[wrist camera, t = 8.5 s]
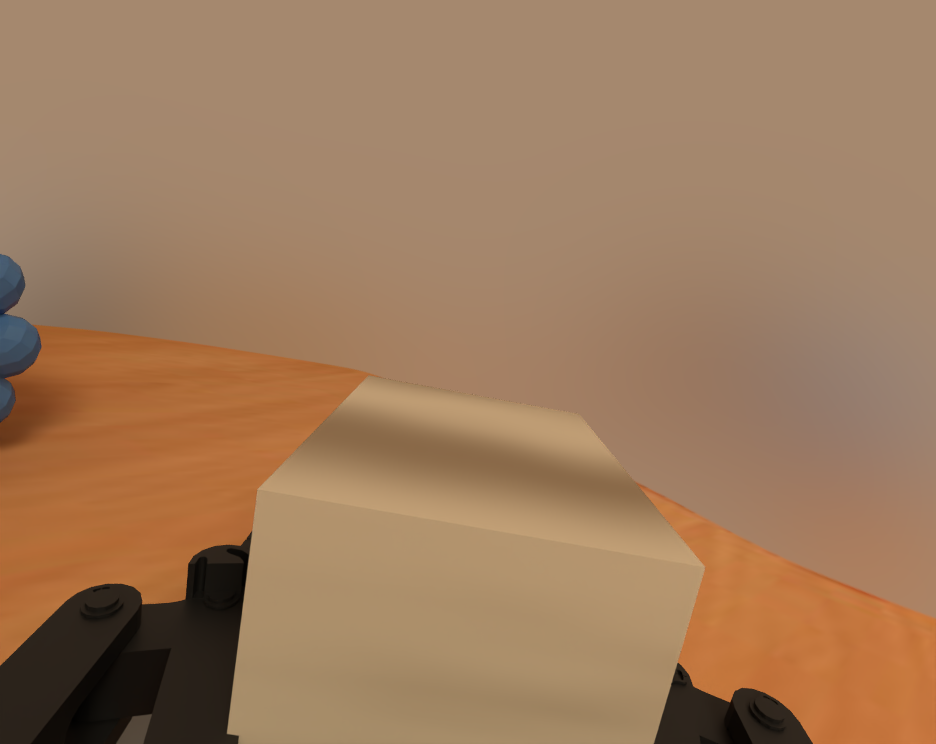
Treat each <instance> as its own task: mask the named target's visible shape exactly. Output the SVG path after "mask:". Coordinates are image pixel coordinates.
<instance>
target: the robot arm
mask: <svg viewBox="0 0 936 744" xmlns="http://www.w3.org/2000/svg"><path fill="white" fill-rule="evenodd" d="M251 538H252V532H251V533H250V535H249V536H248V537H247V540H245V541H244V542H243V544H242V545H241V546H236V545H221V546H214V547H211V548H208V549H205V550H202V551H201V552H199V553H198V554H196V555H195V556H193V558H192V559H191V561H190V562H189V564H188V576H187V589H186V600H182V601H178V602H171V603H161V604H143V605H142V598H141V593H140V592H139V591H138V590H136V589H135V588H134V587H131V586H128V585H124V584H104V585H99V586H94V587H91V588H88V589H86V590H83V591H81V592H79V593H77V594H75V595H74V596H73V597H71V598H70V599H68V600H67V601H66V602H65V603H64V604H63V605H62V606H61V607H60V608H59V609H58V610H57V611H56V612H55V613H54V614H53V615H51V616H50V617H49V618H48V619H47V620H46V621H45V622H44V623H43V624H42V625H41V626H40V627H39V628H38V629H37V630H36V631H35V632H34V633H33V634H32V635H31V636H30V637H29V638H28V639H27V640H26V641H25V642H24V643H23V644H22V645H21V646H20V647H19V648H18V649H17V650H16V651H15V652H14V653H13V654H12V655H11V656H10V657H9V658H8V659H7V660H6V661H5V662H4V663H3V664H2V665H1V666H0V744H116V743H117V741H118V740H119V738H120V737H121V735H122V734H123V732H124V730H125V729H126V727H127V726H128V724H129V722H130V721H131V719H132V717H133V716H141V715H149V714H152V716H151V719H150V722H149V726H148V729H147V733H146V736H145V739H144V743H143V744H238V740H239V736H238V735H232V734H227V729H228V721H229V713H230V705H231V697H232V689H233V681H234V673H235V665H236V657H237V650H238V642H239V634H240V626H241V618H242V610H243V602H244V594H245V586H246V578H247V570H248V562H249V554H250V546H251ZM654 744H813V743H812V741H811V740H810V738H809V737H808V735H807V733H806V732H805V730H804V729H803V727H802V725H801V724H800V722H799V721H798V720H797V718H796V717H795V716H794V715H793V713H792V712H791V711H790V710H789V709H788V708H786V707H785V706H784V705H783V704H782V703H780V702H779V701H778V700H776V699H775V698H773V697H771V696H769V695H767V694H766V693H763V692H760V691H757V690H754V689H748V688H741V689H739V690H736V691H735V692H734V694H733V697H732V700H731V702H727V701H725V700H722V699H720V698H717V697H715V696H713V695H710V694H708V693H705V692H703V691H701V690H699V689H697V688H695V687H693V685H692V682H691V679H690V676H689V674H688V673H687V672H686V671H685V669H684V668H683V667H682V666H681V665H680V664H679V663H677V666H676V669H675V673H674V676H673V680H672V683H671V687H670V690H669V693H668V697H667V700H666V704H665V707H664V710H663V714H662V717H661V721H660V724H659V728H658V731H657V734H656V738H655V741H654Z"/></svg>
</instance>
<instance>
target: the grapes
mask: <svg viewBox="0 0 936 744" xmlns="http://www.w3.org/2000/svg"><path fill="white" fill-rule="evenodd" d="M24 288H25V280H24V276H23V273H22V270H21V268H20V266H19V265H17V264H16V263H15V262H14V261H13V260H12V259H11V258H10V257H8V256H6V255H2V254H0V423H1V422H2V421H3V420H4V419H5V418H7V417H8V416H9V414H10V412H11V410H12V408H13V405H14V403H15V401H16V399H15V391H14V389H13V387H12V385H11V383H10V382H9V381H7V380H6V379H4V378H7V377H11V376H15V375H19V374H21V373H23V372H24V371H25V370H26V369H28V368H29V367H30V366H31V365H32V364H34V362H35V360H36V358H37V356H38V354H39V352H40V349H41V340H40V336H39V334H38V331H37V329H36V328H35V327H34V326H32V325H31V324H30V323H29V322H27V321H26V320H25V319H23V318H21V317H16V316H12V315H8V314H4V313H5V312H7V311H8V310H9V309H10V308H12V307H13V306H15V305H16V304H17V303H18V301H19V299H20V297H21V295H22V293H23V290H24Z"/></svg>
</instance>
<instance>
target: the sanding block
mask: <svg viewBox="0 0 936 744" xmlns="http://www.w3.org/2000/svg"><path fill="white" fill-rule="evenodd" d="M704 570H705V566H704V565H703V564H702V563H701V561H700V560H699V559H698V558H697V557H696V555H695V554H694V553H693V552H692V550H691V549H690V548H689V547H688V546H687V544H686V543H685V542H684V541H683V540H682V538H681V537H680V536H679V535H678V534H677V532H676V531H675V530H674V529H673V527H672V526H671V525H670V524H669V523H668V521H667V520H666V519H665V518H664V517H663V515H662V514H661V513H660V512H659V510H658V509H657V508H656V507H655V506H654V504H653V503H652V502H651V501H650V500H649V498H648V497H647V496H646V495H645V494H644V492H643V491H642V490H641V489H640V487H639V486H638V485H637V484H636V483H635V481H634V480H633V479H632V478H631V477H630V475H629V474H628V473H627V472H626V470H625V469H624V468H623V467H622V466H621V464H620V463H619V462H618V461H617V460H616V458H615V457H614V456H613V455H612V454H611V452H610V451H609V450H608V449H607V447H606V446H605V445H604V444H603V443H602V441H601V440H600V439H599V438H598V437H597V435H596V434H595V433H594V432H593V431H592V429H591V428H590V427H589V426H588V424H587V423H586V422H585V421H584V420H583V418H582V417H581V416H580V415H579V414H576V413H570V412H565V411H559V410H554V409H549V408H543V407H537V406H532V405H527V404H521V403H515V402H510V401H505V400H499V399H494V398H489V397H482V396H478V395H472V394H466V393H461V392H455V391H450V390H445V389H440V388H434V387H429V386H423V385H418V384H412V383H407V382H401V381H396V380H391V379H385V378H380V377H374V376H368V377H367V378H366V379H365V380H364V381H363V382H362V383H361V384H360V385H359V386H358V387H357V388H356V389H355V390H354V391H353V392H352V393H351V394H350V395H349V396H348V397H347V398H346V399H345V400H344V401H343V402H342V403H341V404H340V405H339V406H338V408H337V409H336V410H335V411H334V412H333V413H332V414H331V415H330V416H329V417H328V418H327V419H326V420H325V421H324V422H323V423H322V424H321V425H320V426H319V427H318V428H317V429H316V430H315V431H314V432H313V433H312V434H311V435H310V436H309V437H308V438H307V439H306V440H305V441H304V442H303V443H302V444H301V445H300V446H299V447H298V448H297V450H296V451H295V452H294V453H293V454H292V455H291V456H290V457H289V458H288V459H287V460H286V461H285V462H284V463H283V464H282V465H281V466H280V467H279V468H278V469H277V470H276V471H275V472H274V473H273V474H272V475H271V476H270V477H269V478H268V479H267V480H266V481H265V482H264V483H263V484H262V485H261V486H260V487H259V488H258V490H257V498H256V506H255V514H254V522H253V530H252V538H251V546H250V554H249V562H248V570H247V578H246V586H245V594H244V602H243V610H242V618H241V626H240V634H239V642H238V650H237V657H236V665H235V673H234V681H233V689H232V697H231V705H230V713H229V721H228V729H227V734H232V735H238V736H239V740H238V744H654V741H655V738H656V734H657V731H658V728H659V724H660V721H661V717H662V714H663V710H664V707H665V704H666V700H667V697H668V693H669V690H670V687H671V683H672V680H673V676H674V673H675V669H676V666H677V663H678V659H679V656H680V652H681V649H682V645H683V642H684V639H685V635H686V632H687V628H688V625H689V621H690V618H691V615H692V611H693V608H694V604H695V601H696V597H697V594H698V591H699V587H700V584H701V580H702V577H703V573H704Z"/></svg>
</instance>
